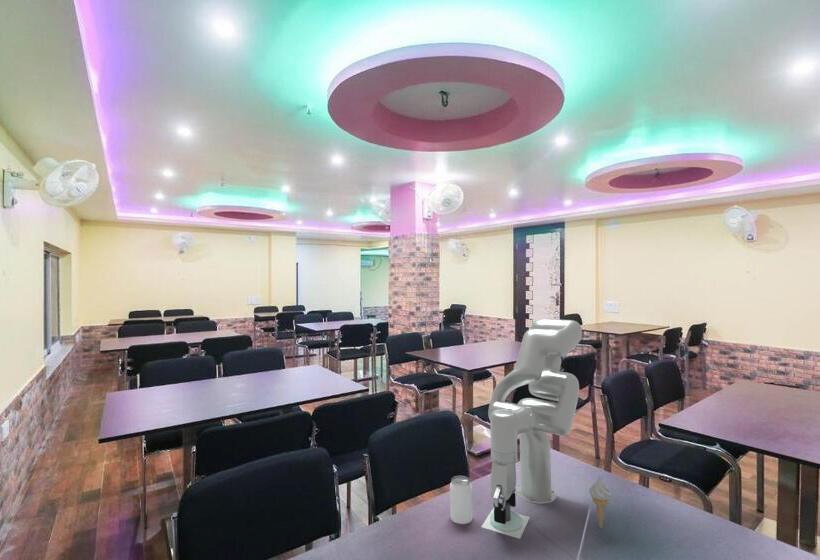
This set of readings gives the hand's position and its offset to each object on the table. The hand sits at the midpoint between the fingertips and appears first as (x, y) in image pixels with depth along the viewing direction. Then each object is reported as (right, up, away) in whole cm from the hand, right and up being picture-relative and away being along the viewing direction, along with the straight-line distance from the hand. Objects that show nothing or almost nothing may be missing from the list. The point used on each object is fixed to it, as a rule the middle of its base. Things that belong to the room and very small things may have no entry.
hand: (505, 513), depth 117 cm
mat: (0, -4, 0) cm, 4 cm away
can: (-12, -4, +3) cm, 13 cm away
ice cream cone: (+27, -3, -2) cm, 27 cm away
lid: (0, -3, 0) cm, 3 cm away
